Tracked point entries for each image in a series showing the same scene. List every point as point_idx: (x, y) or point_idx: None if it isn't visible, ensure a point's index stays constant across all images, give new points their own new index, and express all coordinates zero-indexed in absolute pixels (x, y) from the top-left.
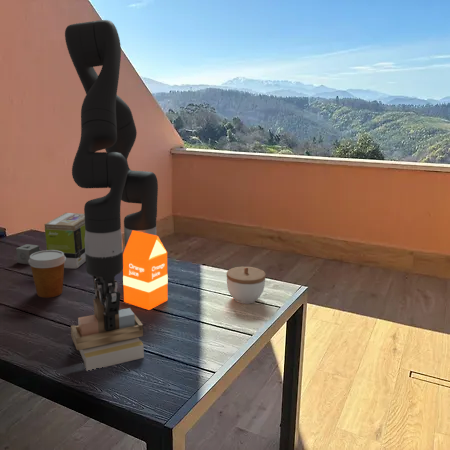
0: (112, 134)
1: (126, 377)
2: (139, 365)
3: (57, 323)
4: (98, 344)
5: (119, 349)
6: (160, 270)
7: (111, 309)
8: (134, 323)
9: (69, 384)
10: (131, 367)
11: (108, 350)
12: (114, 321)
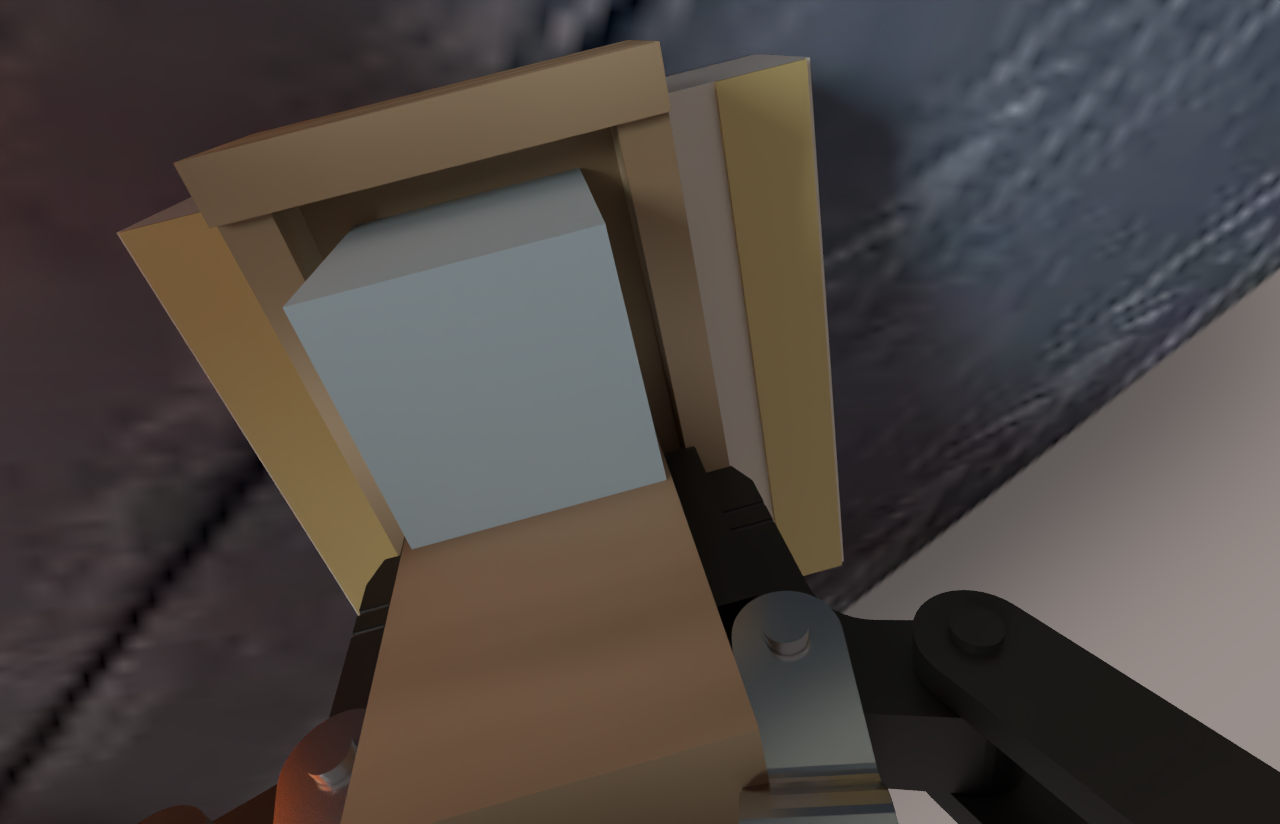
0: None
1: (985, 237)
2: (868, 114)
3: (66, 740)
4: None
5: (823, 331)
6: None
7: (993, 760)
8: (584, 186)
9: (896, 558)
10: (870, 190)
11: (805, 423)
12: (717, 512)
